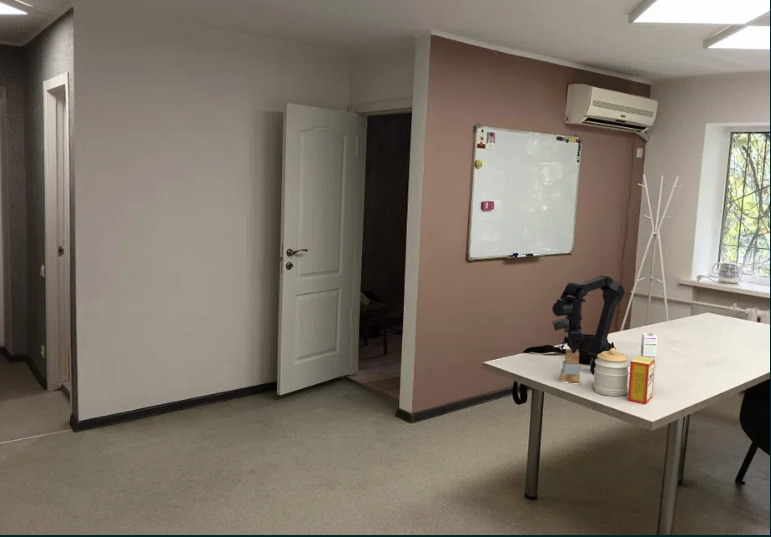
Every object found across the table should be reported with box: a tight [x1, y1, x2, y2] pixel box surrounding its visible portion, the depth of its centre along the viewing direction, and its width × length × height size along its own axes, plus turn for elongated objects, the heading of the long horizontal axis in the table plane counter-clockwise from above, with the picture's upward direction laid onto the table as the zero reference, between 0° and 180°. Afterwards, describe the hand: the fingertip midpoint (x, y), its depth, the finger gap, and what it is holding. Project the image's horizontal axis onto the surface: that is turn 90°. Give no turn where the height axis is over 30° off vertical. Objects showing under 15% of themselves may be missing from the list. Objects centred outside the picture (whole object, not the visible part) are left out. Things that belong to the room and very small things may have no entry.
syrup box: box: [640, 332, 658, 368], centre depth 285 cm, size 6×6×14 cm
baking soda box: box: [627, 355, 656, 405], centre depth 243 cm, size 10×6×16 cm
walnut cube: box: [564, 348, 580, 365], centre depth 263 cm, size 5×5×5 cm
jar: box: [592, 347, 630, 397], centre depth 251 cm, size 13×13×18 cm
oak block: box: [560, 368, 581, 384], centre depth 265 cm, size 7×7×4 cm
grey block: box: [562, 359, 580, 375], centre depth 264 cm, size 6×6×4 cm
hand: (572, 350), depth 264 cm, fingers open, 9 cm apart
